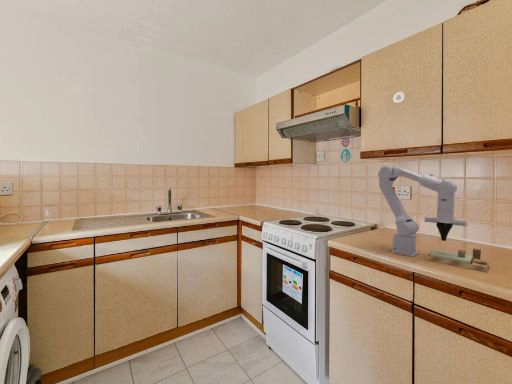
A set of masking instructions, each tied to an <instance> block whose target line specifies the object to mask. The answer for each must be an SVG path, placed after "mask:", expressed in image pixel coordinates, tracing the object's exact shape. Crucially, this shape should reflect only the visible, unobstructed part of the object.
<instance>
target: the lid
mask: <svg viewBox="0 0 512 384" xmlns="http://www.w3.org/2000/svg"><path fill="white" fill-rule="evenodd" d="M431 251H432V252H431ZM431 251H430V252H431V253H430V252H429V253H430V256H433V257H438V258H443V259H449V260H454V261H459V262H464V263H469V264H470V263H471V261H472V259H473V255H469V254H467V252H466V250H463V249H458V250H457V252H452V251H447V250H441V249H435V248H434V249H433V250H431Z"/></svg>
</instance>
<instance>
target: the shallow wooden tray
mask: <svg viewBox="0 0 512 384" xmlns="http://www.w3.org/2000/svg"><path fill="white" fill-rule="evenodd" d="M432 251H433V250H431V251H430V252H429V253H428V254H426V256H425V257H426V260H425V261H428V262H432V263H433V262H434V263H439V264H443V265H448V266H453V267H459V268H463V269H467V270H473V271H478V272H482V273H488V270H489V263H490V261H487V260H484V259H483V260H482V259H480V260H478V259H472V261H471V263H470V264H469V263H464V262H459V261H454V260H449V259H443V258H438V257H433V256H430V253H431V252H432Z"/></svg>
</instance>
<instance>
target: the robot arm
mask: <svg viewBox="0 0 512 384" xmlns="http://www.w3.org/2000/svg"><path fill="white" fill-rule="evenodd" d="M377 175H378V180H379V181H378V184H379V189H380V191H381V193H382V195H383V196H384V199H385V200H386V203H387V204H388V205H389V206H388V207H389V208H390V210H391V212H392V213H393V216H394V218H395V222H394V223H395V225H396V231H397V233H394V234H393V236H392V248H391V253H393V254H399V255H403V256H408V257H412V258H414V257H415V256H417V255H418V253H419V252H418V251H416V248H417V244H416V243H417V233H418V231H419V227H420V226H419V224H418V223H417V222H416V221H415V220H414V219H413V217H412V216H410V215H409V214H408V213H407V211H406V209H405V207H404V205H403V203H402V201H401V200H400V197H398V195H397V193H396V191H395V189H394V187H393V184H394V182H396V180H397V179H398V177H400V178H401V177H403V178H406V179H410V180H412V181H415V182H418V183H419V186H421V187H423V188H426V189H428V190H430V191H433V192H436V193H437V195H438V196H437V211H436V217H426V216H425V217H424V223H432V224H433V223H435V224H436V227H437V230H438V232H439V234H440V240H441V241H444V242H446V241H447V237H448V235H449V233H450V231H451V229H452V228H453V226H459V227H460V226H461V227H465V228H466V227H467V225H468V221H466V220H458V219H454V217H455V216H454V214H455V193H456V192H457V188H458V187H457V184H456V183H454V182H453V181H451V180H450V181H446V179H445V178H438V177H437V176H434V174H431V173H429V174H428V173H427V174H424V175H422V174H419V173H417V172H414V171H412V170H409V169H406V168H404V167H399V166H395V165H393V166H389V165H384V166H382V167H380V168H379V170H378V173H377Z"/></svg>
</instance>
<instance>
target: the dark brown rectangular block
mask: <svg viewBox="0 0 512 384" xmlns="http://www.w3.org/2000/svg"><path fill="white" fill-rule="evenodd" d="M481 255H482V249H481V248H480V249H479V248H475V247H474V248H472V256H473V259H478V260H481Z"/></svg>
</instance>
